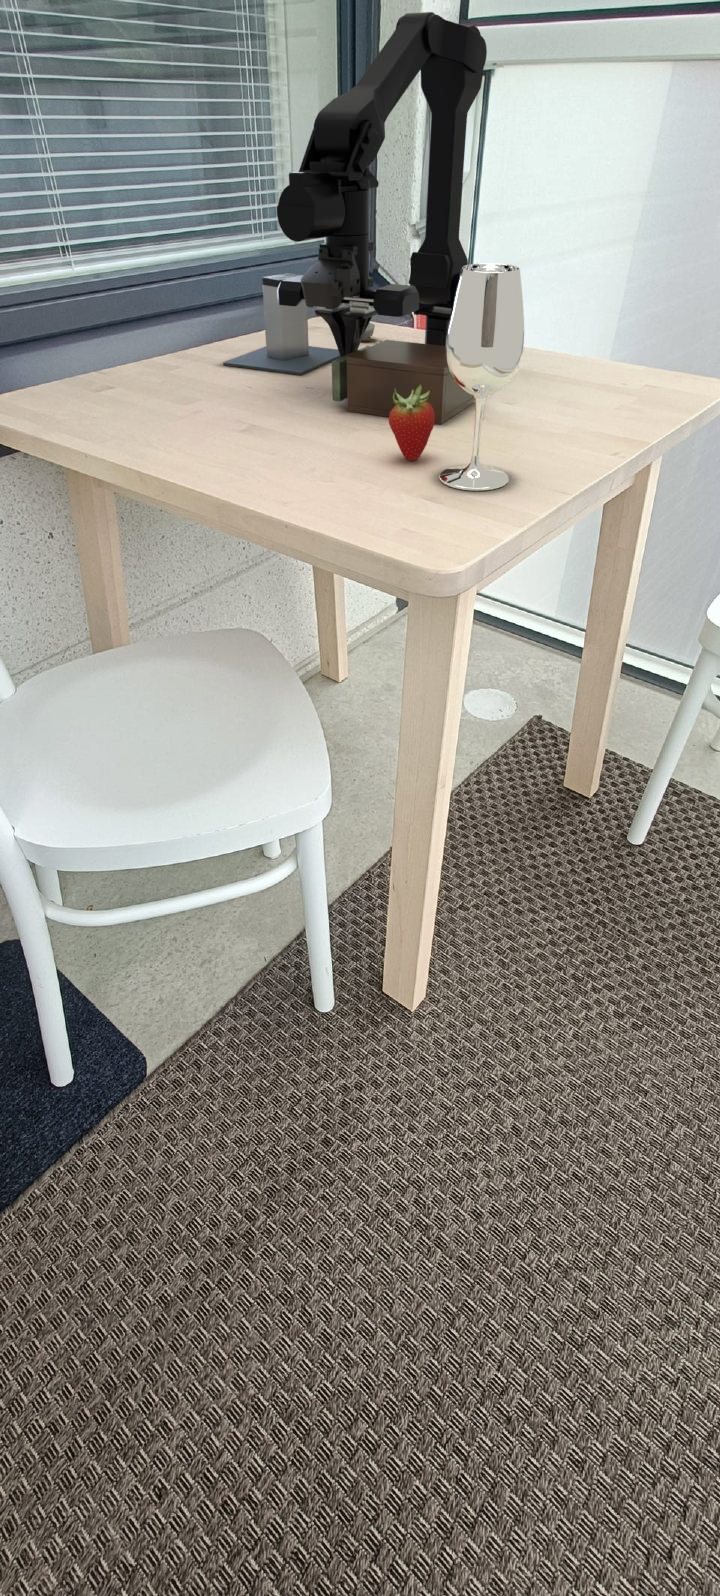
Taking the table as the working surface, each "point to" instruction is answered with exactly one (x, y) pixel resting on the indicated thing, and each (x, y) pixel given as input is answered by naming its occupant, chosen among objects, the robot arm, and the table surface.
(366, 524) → the table surface
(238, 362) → the mat
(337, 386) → the drawer
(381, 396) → the cabinet
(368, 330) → the figurine
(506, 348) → the wineglass
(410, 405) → the fruit
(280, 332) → the grey canister
